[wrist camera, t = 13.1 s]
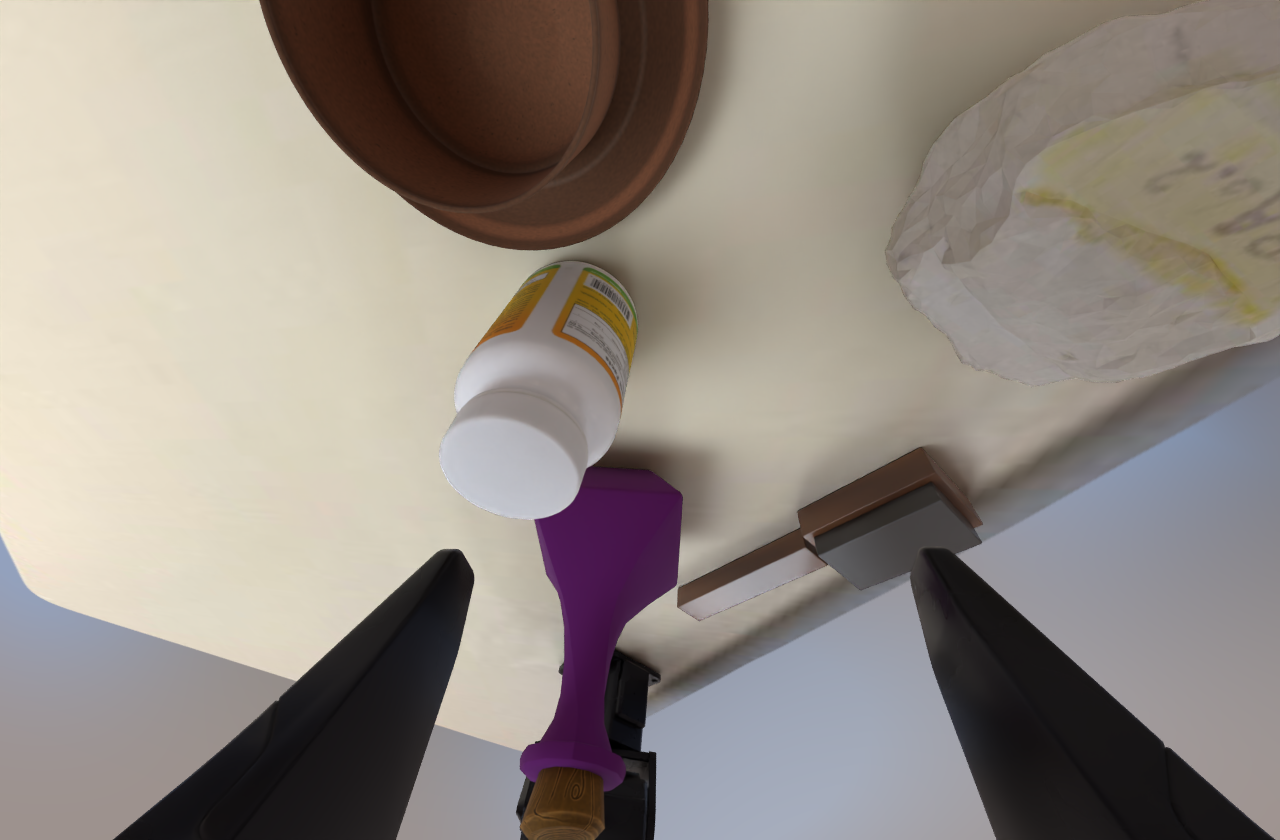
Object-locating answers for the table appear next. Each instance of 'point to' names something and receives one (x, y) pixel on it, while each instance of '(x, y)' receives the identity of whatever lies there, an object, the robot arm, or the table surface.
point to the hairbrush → (850, 536)
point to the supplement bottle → (542, 393)
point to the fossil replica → (1108, 203)
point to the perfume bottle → (596, 635)
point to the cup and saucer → (502, 103)
